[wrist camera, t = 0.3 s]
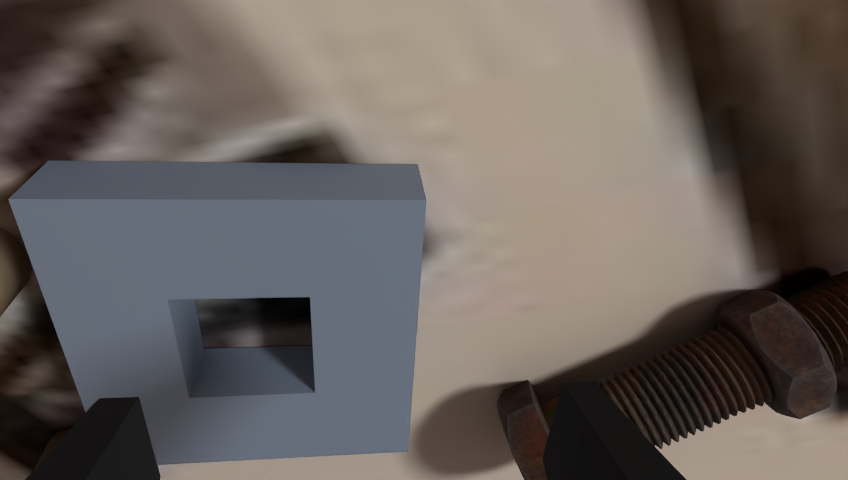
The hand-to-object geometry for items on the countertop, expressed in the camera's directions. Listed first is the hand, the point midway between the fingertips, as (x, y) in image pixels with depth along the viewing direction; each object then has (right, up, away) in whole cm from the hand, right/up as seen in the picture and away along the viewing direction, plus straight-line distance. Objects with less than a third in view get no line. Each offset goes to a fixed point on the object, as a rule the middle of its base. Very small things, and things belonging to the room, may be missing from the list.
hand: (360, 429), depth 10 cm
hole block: (-5, +1, +11) cm, 12 cm away
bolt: (+12, -1, +15) cm, 19 cm away
